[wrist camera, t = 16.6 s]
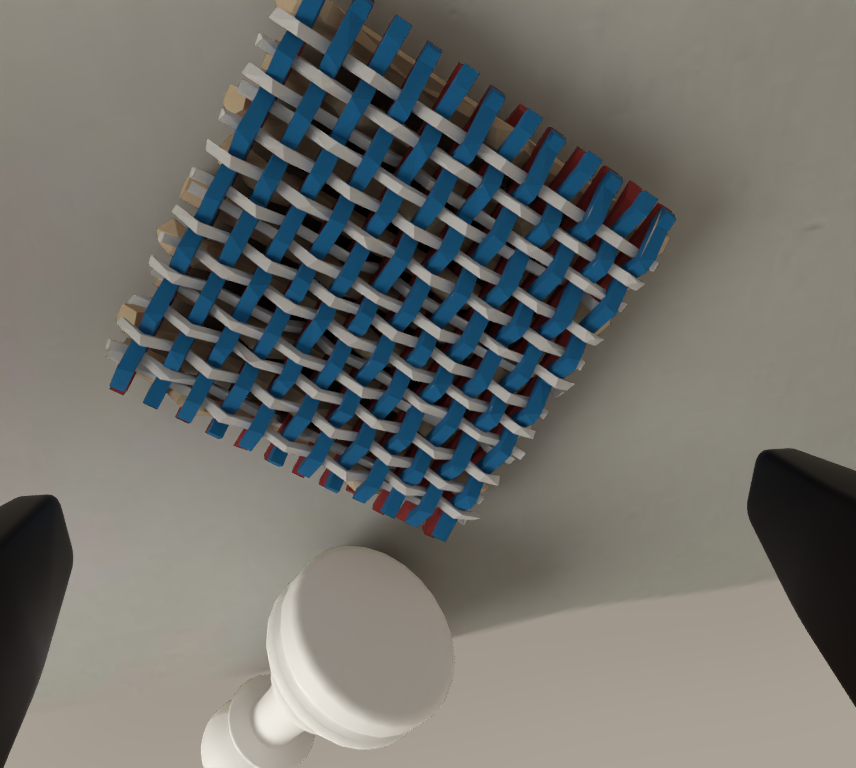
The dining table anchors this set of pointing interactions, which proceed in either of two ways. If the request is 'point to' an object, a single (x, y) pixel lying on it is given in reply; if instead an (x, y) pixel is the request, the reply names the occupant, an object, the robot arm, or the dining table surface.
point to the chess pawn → (338, 665)
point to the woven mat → (385, 271)
